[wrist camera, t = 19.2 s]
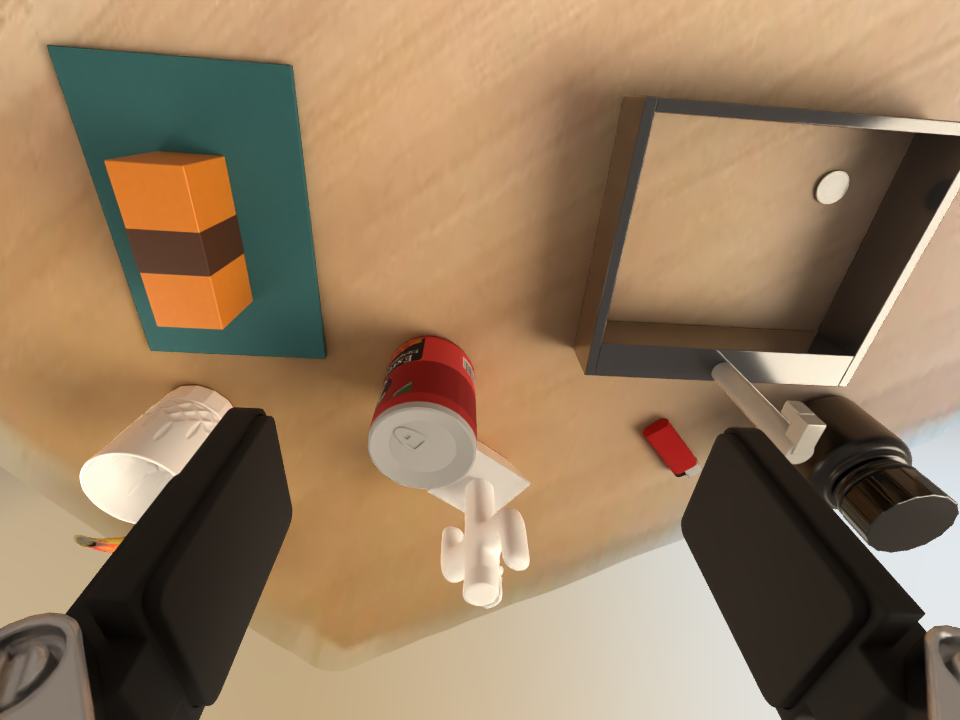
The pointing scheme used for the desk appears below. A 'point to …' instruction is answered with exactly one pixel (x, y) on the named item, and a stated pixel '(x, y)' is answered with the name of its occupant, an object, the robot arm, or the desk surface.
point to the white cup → (151, 451)
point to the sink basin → (769, 352)
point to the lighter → (672, 449)
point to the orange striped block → (183, 236)
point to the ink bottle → (874, 479)
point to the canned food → (425, 415)
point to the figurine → (484, 527)
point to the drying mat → (251, 169)
